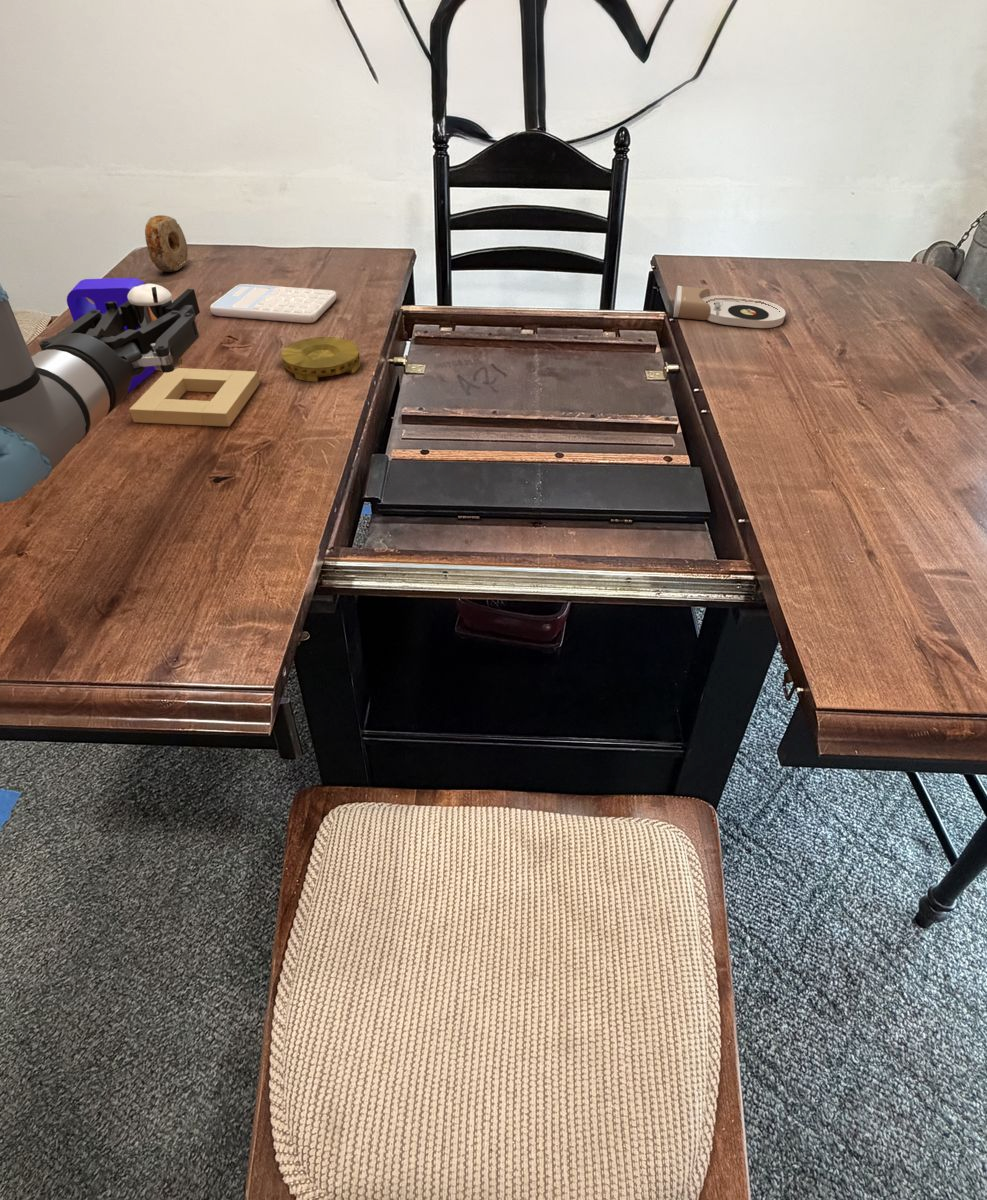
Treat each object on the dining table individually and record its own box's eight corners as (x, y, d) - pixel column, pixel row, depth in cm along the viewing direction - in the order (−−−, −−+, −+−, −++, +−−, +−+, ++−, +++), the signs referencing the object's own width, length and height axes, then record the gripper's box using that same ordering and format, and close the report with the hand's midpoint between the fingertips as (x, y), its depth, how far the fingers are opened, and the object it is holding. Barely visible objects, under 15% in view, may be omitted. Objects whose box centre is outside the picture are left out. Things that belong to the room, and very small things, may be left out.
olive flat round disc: (372, 371, 112) (371, 357, 111) (299, 387, 107) (297, 374, 106) (342, 344, 120) (341, 331, 118) (273, 359, 115) (271, 346, 113)
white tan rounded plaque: (677, 282, 136) (785, 292, 134) (674, 299, 138) (780, 309, 136) (676, 303, 128) (791, 315, 125) (673, 320, 130) (785, 332, 127)
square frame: (133, 422, 99) (128, 409, 97) (172, 379, 109) (169, 367, 107) (229, 426, 98) (226, 413, 97) (260, 383, 108) (257, 371, 107)
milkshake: (156, 379, 82) (131, 290, 75) (142, 362, 85) (117, 275, 78) (195, 371, 84) (174, 283, 77) (180, 354, 87) (159, 269, 81)
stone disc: (169, 278, 143) (154, 224, 137) (152, 276, 144) (136, 222, 137) (195, 262, 151) (182, 210, 144) (179, 261, 151) (165, 209, 145)
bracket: (99, 355, 115) (71, 279, 107) (169, 352, 116) (146, 277, 108) (64, 406, 102) (29, 324, 94) (143, 402, 103) (115, 321, 95)
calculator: (314, 324, 126) (312, 313, 125) (208, 316, 128) (206, 305, 127) (339, 298, 136) (337, 288, 135) (240, 291, 138) (238, 281, 137)
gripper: (1, 417, 70) (112, 328, 88) (173, 426, 69) (251, 334, 87) (-36, 343, 65) (90, 263, 83) (150, 351, 64) (237, 269, 82)
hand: (172, 299), depth 85 cm, fingers closed on milkshake, 4 cm apart
